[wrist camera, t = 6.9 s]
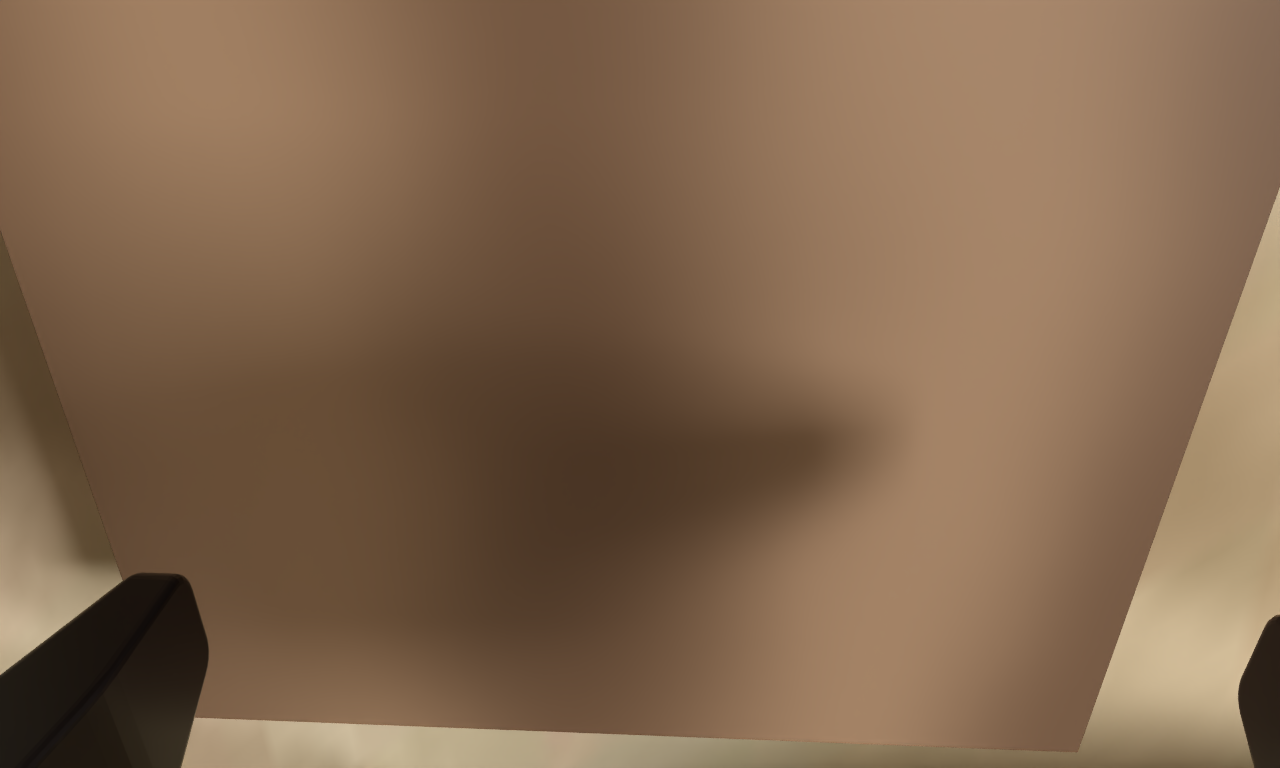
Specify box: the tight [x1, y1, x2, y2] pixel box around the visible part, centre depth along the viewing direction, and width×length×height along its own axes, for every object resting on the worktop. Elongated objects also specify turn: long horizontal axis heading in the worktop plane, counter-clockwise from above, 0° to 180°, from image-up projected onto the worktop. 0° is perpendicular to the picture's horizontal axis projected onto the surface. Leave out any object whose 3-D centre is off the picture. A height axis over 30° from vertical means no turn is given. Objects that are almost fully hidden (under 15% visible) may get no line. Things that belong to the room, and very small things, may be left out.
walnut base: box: [0, 0, 1280, 752], centre depth 13 cm, size 12×12×3 cm
